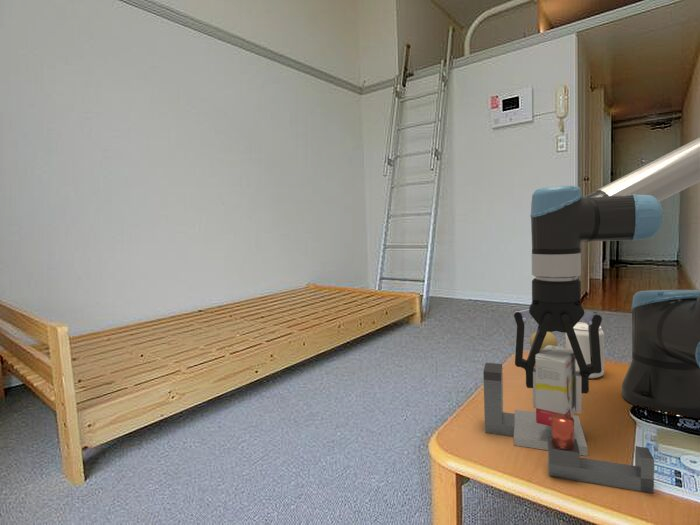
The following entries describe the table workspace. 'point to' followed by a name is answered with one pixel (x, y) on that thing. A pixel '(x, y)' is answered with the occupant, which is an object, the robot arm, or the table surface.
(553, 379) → the ink box
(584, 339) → the beverage can
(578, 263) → the robot arm
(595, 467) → the rail
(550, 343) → the light bulb
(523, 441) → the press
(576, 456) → the red cylinder
